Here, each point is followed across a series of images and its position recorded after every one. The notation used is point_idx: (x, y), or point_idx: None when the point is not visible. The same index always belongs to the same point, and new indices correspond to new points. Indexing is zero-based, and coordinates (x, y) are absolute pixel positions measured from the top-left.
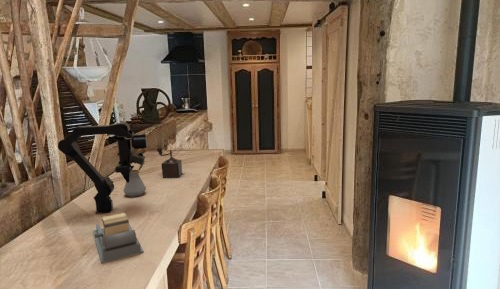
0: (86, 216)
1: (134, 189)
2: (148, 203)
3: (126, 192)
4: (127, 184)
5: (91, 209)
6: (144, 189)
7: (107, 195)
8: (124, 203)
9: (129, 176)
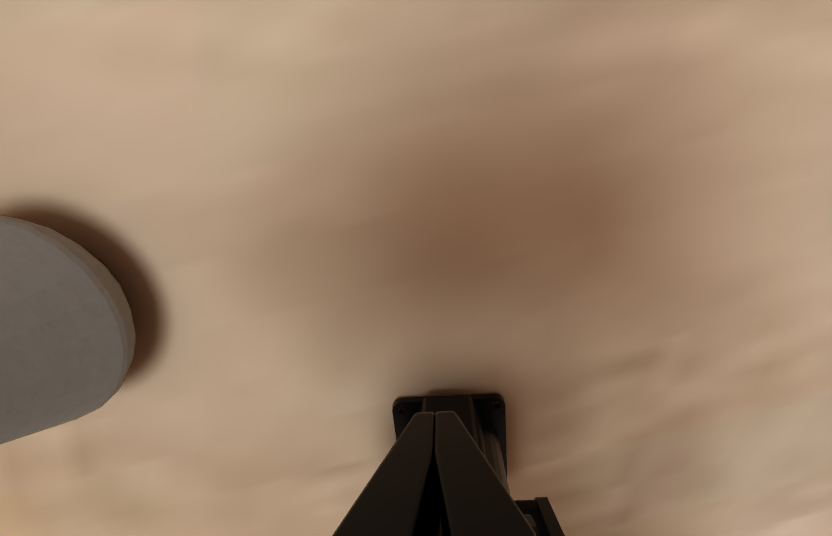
0: None
1: (78, 318)
2: (312, 106)
3: (121, 380)
4: (18, 423)
5: None
6: (3, 219)
7: (551, 530)
8: (299, 337)
9: (524, 521)
